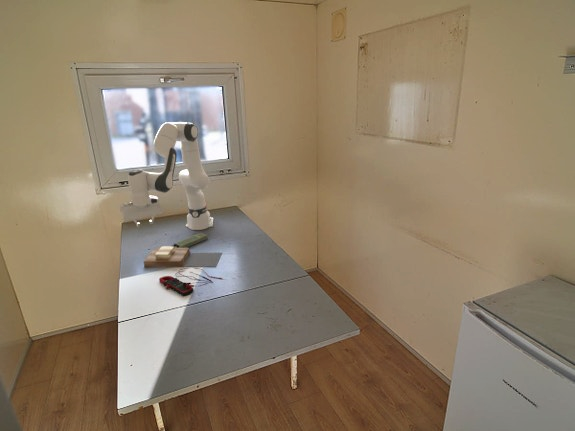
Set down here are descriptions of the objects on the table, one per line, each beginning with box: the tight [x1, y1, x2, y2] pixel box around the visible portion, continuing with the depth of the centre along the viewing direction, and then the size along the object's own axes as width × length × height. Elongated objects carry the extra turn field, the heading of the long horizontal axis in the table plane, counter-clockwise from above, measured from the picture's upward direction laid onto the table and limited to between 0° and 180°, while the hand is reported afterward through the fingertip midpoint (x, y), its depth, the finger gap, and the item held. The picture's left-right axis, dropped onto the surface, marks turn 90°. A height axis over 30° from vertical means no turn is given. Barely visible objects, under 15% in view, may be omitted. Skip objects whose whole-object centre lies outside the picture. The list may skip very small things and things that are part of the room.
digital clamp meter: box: [158, 267, 226, 298], centre depth 170 cm, size 23×4×25 cm
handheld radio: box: [172, 232, 209, 248], centre depth 209 cm, size 7×3×25 cm
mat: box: [181, 252, 222, 268], centre depth 191 cm, size 16×18×1 cm
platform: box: [143, 247, 191, 268], centre depth 191 cm, size 16×20×4 cm
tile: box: [155, 245, 175, 259], centre depth 190 cm, size 10×7×2 cm
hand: (145, 225), depth 184 cm, fingers open, 5 cm apart
